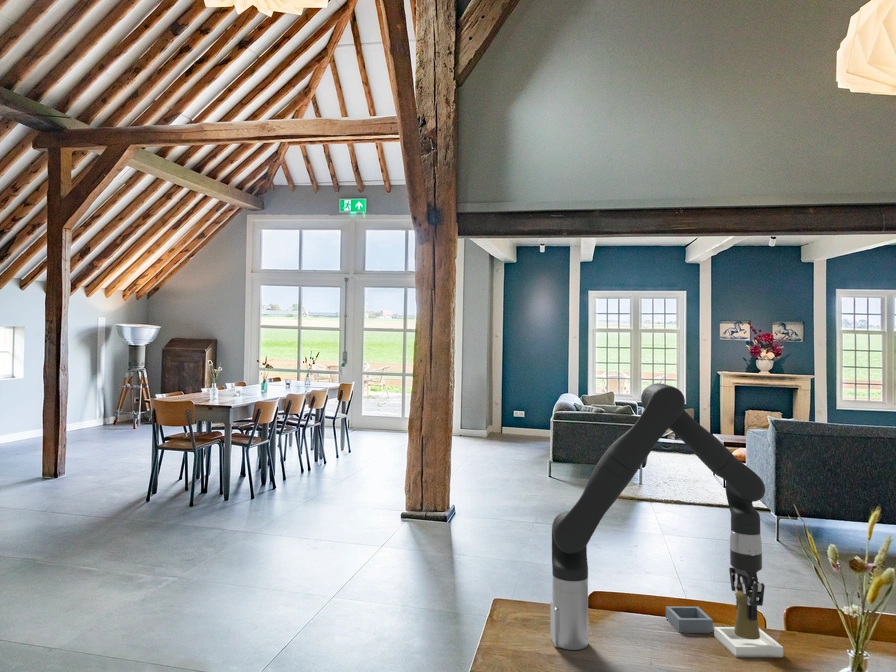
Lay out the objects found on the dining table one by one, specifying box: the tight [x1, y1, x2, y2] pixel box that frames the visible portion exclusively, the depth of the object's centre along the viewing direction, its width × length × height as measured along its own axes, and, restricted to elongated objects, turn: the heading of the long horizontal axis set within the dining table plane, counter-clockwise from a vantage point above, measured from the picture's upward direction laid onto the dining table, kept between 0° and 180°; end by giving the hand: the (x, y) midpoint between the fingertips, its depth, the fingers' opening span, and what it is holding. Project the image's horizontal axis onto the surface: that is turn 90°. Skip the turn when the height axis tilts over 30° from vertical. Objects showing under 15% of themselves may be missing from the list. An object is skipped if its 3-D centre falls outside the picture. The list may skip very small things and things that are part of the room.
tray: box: [713, 626, 784, 658], centre depth 160 cm, size 12×12×2 cm
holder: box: [665, 605, 714, 634], centre depth 173 cm, size 9×9×4 cm
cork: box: [734, 590, 760, 640], centre depth 160 cm, size 6×6×11 cm
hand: (746, 615), depth 160 cm, fingers closed on cork, 5 cm apart
